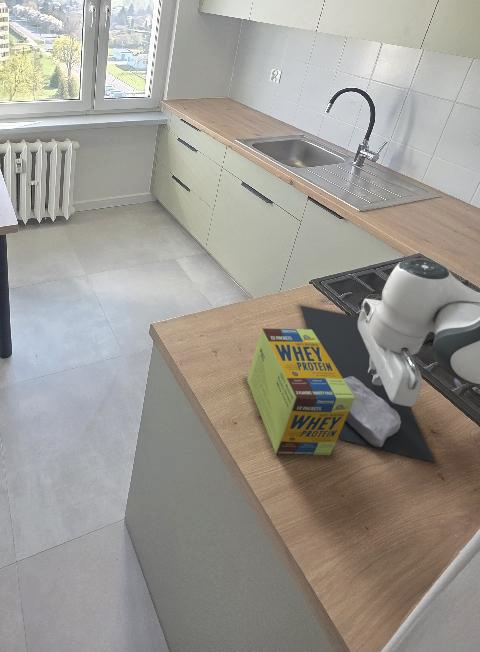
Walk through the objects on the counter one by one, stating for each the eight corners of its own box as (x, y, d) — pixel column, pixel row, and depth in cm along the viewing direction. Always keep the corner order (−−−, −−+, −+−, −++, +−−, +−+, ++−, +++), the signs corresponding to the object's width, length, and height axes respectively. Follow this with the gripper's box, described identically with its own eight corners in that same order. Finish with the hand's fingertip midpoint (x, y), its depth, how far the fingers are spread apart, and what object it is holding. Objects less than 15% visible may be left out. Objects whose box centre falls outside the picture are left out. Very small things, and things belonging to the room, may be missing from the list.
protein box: (275, 456, 75) (296, 398, 69) (246, 380, 89) (260, 326, 83) (332, 456, 76) (357, 398, 69) (293, 381, 90) (312, 327, 84)
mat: (366, 318, 108) (367, 318, 107) (435, 463, 75) (435, 462, 75) (300, 306, 111) (300, 305, 111) (339, 439, 79) (339, 439, 79)
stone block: (343, 386, 91) (316, 398, 86) (353, 370, 89) (326, 381, 84) (399, 437, 81) (373, 454, 76) (411, 420, 80) (385, 436, 75)
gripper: (440, 379, 73) (413, 430, 78) (392, 299, 91) (373, 345, 97) (400, 371, 74) (376, 422, 80) (361, 293, 92) (343, 339, 98)
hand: (374, 379), depth 88 cm, fingers closed
